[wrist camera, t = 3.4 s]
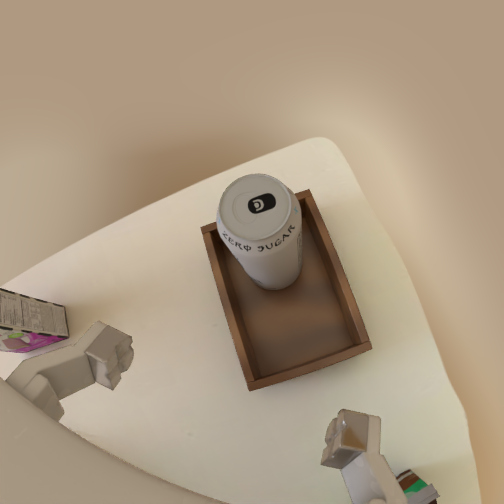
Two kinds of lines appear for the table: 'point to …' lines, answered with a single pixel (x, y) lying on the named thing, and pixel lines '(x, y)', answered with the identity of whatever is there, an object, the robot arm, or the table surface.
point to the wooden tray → (289, 308)
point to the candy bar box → (29, 322)
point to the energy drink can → (262, 229)
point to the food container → (417, 489)
